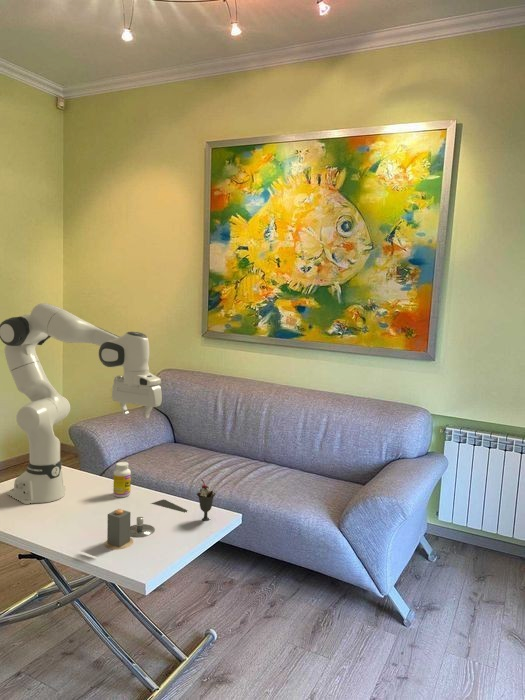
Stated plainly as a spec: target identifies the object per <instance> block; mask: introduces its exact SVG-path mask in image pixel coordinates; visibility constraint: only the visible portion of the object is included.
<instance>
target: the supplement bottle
mask: <svg viewBox="0 0 525 700" xmlns="http://www.w3.org/2000/svg"><path fill="white" fill-rule="evenodd" d="M115 467H116V469H115V470H114V471H113V489H112V490H113V496H114V497H115V498H125V497H126V498H127V497H129V496H130V494H131V491H132V490H131V481H132V476H131V475H132V474H131V473H132V472H131V469H130V468H129V462H127V461H120V462H117V463H116V464H115Z"/></svg>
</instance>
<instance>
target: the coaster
mask: <svg viewBox="0 0 525 700" xmlns="http://www.w3.org/2000/svg"><path fill="white" fill-rule="evenodd" d="M133 544H134V539H133V537H130V542H128V543H126V544H125V545H123V546H121V547H120V548H119V547H116V546H113V545H110V544H107V540H106V541H105V542H104V546H105V547H106V548H107V549H110V550H123V549H127V548H130V547H131V546H132V545H133Z"/></svg>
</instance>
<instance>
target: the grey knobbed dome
mask: <svg viewBox="0 0 525 700" xmlns="http://www.w3.org/2000/svg"><path fill="white" fill-rule="evenodd" d="M155 530H156V529H155V527H154V526H152V525H150V524H145V523H144V517H143V516H138V517H136V524H133V525H130V538H145V537H146V538H147V537H149V536H151V535H153V534H154V533H155Z"/></svg>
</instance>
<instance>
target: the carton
mask: <svg viewBox="0 0 525 700" xmlns="http://www.w3.org/2000/svg"><path fill="white" fill-rule="evenodd" d="M130 526H131V511H128V510H124V509H121V508H118V509H115V510H112V512H109V513H107V532H106V533H107V537H106V538H107V539H106V541H107V544H110V545H113V546H116V547H119V548H120V547H121V546H123V545H125V544H126V543H128V542H130V538H131V537H130Z"/></svg>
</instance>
